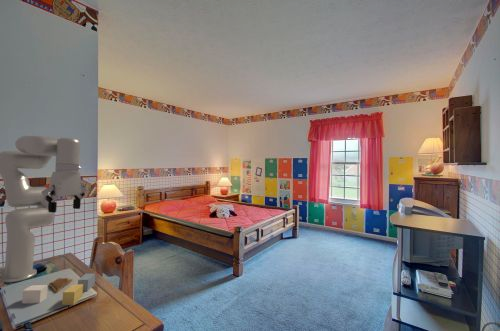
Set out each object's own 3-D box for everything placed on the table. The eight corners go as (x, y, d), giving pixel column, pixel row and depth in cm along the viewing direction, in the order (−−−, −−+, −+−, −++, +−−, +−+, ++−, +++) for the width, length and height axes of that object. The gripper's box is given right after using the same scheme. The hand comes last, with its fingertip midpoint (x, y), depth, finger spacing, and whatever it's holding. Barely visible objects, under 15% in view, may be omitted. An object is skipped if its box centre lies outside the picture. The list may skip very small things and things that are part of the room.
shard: (56, 294, 98) (57, 289, 98) (36, 294, 97) (37, 290, 97) (73, 281, 108) (73, 277, 108) (55, 281, 107) (55, 277, 108)
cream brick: (22, 303, 89) (23, 290, 89) (30, 297, 93) (31, 285, 93) (39, 303, 90) (40, 290, 90) (47, 297, 94) (47, 285, 94)
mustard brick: (73, 305, 90) (74, 292, 90) (62, 305, 90) (63, 292, 90) (82, 296, 96) (83, 284, 96) (71, 296, 96) (72, 284, 96)
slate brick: (87, 291, 100) (88, 279, 100) (77, 291, 100) (78, 279, 100) (94, 284, 106) (95, 273, 106) (84, 284, 105) (85, 273, 106)
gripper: (80, 168, 105) (78, 206, 105) (36, 167, 88) (33, 213, 88) (93, 169, 103) (91, 208, 103) (51, 168, 87) (48, 214, 86)
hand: (64, 210), depth 95 cm, fingers open, 9 cm apart
